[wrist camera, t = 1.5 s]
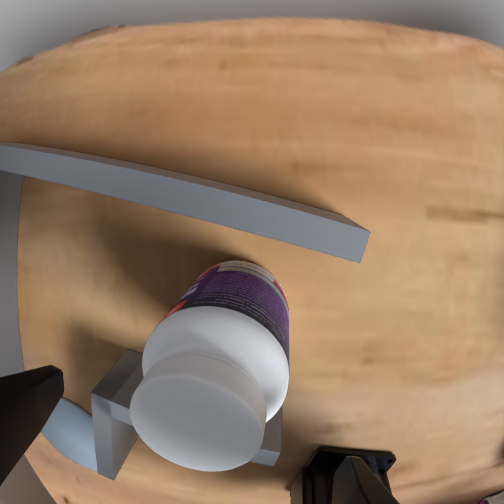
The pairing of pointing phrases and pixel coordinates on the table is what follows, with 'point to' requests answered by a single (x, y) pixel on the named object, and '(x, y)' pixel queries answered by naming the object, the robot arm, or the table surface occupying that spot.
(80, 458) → the pad
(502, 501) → the candy bar box
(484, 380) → the table surface
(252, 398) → the pill bottle
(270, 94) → the table surface
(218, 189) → the channel
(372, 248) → the table surface
